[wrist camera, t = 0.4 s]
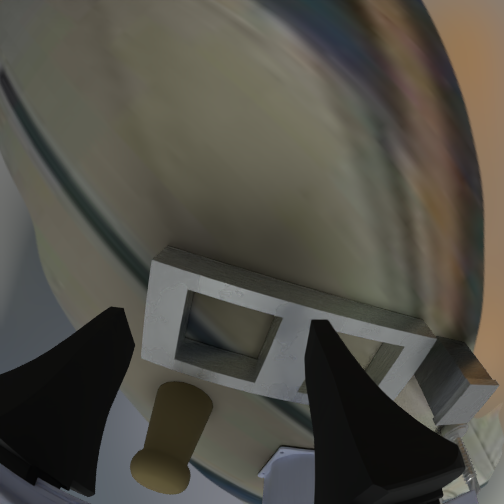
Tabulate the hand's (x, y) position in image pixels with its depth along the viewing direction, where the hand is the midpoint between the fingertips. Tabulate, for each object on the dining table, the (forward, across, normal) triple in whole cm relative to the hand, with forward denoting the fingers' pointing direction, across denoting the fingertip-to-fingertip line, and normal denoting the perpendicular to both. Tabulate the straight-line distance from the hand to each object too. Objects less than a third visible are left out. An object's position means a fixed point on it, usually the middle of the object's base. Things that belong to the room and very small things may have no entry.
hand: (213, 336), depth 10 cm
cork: (+9, +6, +18) cm, 21 cm away
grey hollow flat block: (+9, -4, +9) cm, 13 cm away
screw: (+7, -28, +25) cm, 39 cm away
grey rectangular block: (+8, -20, +12) cm, 25 cm away
